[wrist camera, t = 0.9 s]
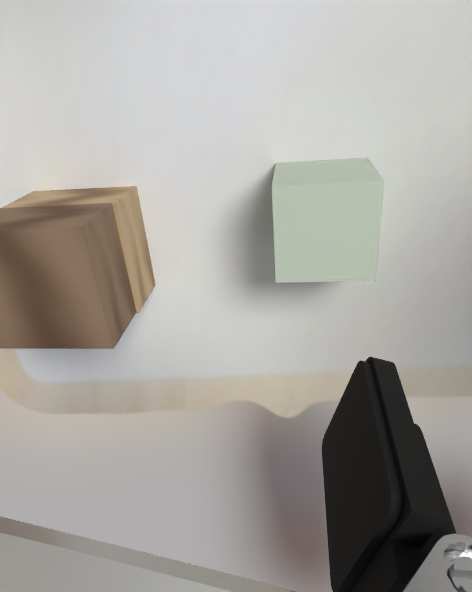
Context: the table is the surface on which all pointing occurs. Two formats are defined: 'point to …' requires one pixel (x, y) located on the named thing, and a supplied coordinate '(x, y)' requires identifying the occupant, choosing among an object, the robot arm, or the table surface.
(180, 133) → the table surface
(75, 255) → the walnut slab
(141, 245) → the oak slab
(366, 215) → the sage cube
